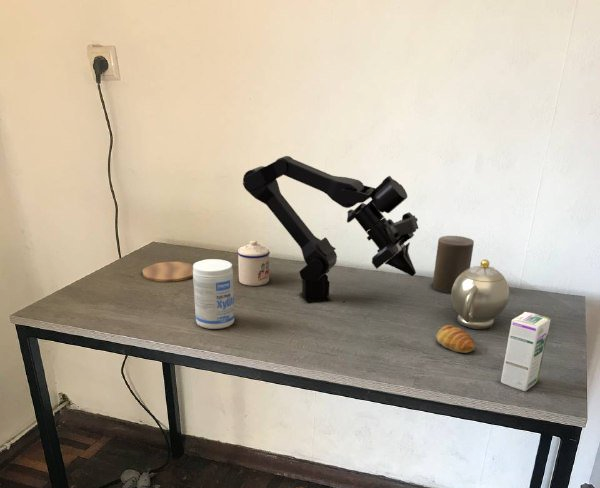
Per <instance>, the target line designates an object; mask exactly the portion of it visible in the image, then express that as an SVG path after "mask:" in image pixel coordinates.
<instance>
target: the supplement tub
mask: <svg viewBox="0 0 600 488" xmlns="http://www.w3.org/2000/svg"><path fill="white" fill-rule="evenodd" d="M192 265H193V277H192V280H193V299H194V313H195V322H196V324H197V325H198V326H199V327H201V328H204V329H209V330H219V329H226V328H229V327H230V326H231V325H233V324H234V322H235V289H234V287H235V285H234V269H233V264H232V262H231V261H228V260H224V259H217V258H211V259H210V258H209V259H203V260H199V261H197V262H194V263H193V264H192Z"/></svg>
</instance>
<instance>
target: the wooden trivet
mask: <svg viewBox="0 0 600 488" xmlns="http://www.w3.org/2000/svg"><path fill="white" fill-rule="evenodd" d="M193 265H194V264H192V263H189V262H183V261H162V262H157V263H153V264H150V265H148V266H146V267H144V268H143V269H142V276H143V277H144V278H145V279H147V280H150V281H152V282H153V281H154V282H158V283H159V282H161V283H173V282H180V281H181V282H182V281H186V280H189V279H193Z"/></svg>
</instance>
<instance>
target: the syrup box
mask: <svg viewBox="0 0 600 488" xmlns="http://www.w3.org/2000/svg"><path fill="white" fill-rule="evenodd" d="M550 325H551V318H549V317H547V316H545V315H542V314H538V313H534V312H529V311H524V312H523V313H521V314H520V315H517V316H516V317H514V318H512V319H511V323H510V328H509V333H508V339H507V344H506V350H505V355H504V361H503V366H502V373H501V377H500V383H501V384H503V385H504V386H505V385H506V386H508V387H511V388H513V389H517V390H519V391H523V392H527V391H528V390H529V389H531V388H532V387H533V386H535V384H537V383H538V381H539V376H540V372H541V368H542V363H543V358H544V354H545V349H546V345H547V339H548V334H549V330H550Z"/></svg>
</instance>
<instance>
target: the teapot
mask: <svg viewBox="0 0 600 488" xmlns="http://www.w3.org/2000/svg"><path fill="white" fill-rule="evenodd" d="M450 294H451V295H450V297H451V298H450V299H451V303H452V306H453V308H454V310H455V311H456V312H457V314H458V315H457V322H458V323H459V324H460V326H462V327H465V328H468V329H472V330H486V329H489V328H491V327H492V326H493V325H494V323H495V320H494V319H495V318H496V317H498V316H499V315H500V314H501V313H502V312H504V310H505V308H506V307H507V305H508V302H509V298H510V288H509V283H508V281H507V279H506V278H505V276H504V275H503V273H501V272H500V271H499V270H498V269H496V268H495V267H493V266H490V261H489V260H488V259H482V260H481V261H480V265H476V266H472V267H471V266H470V268H469V269H467V270H465V271H464V272H462V273H461V274H460V275H459V276H458V277H457V279H456V280H455V282H454V284H453V287H452V292H451V293H450Z"/></svg>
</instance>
